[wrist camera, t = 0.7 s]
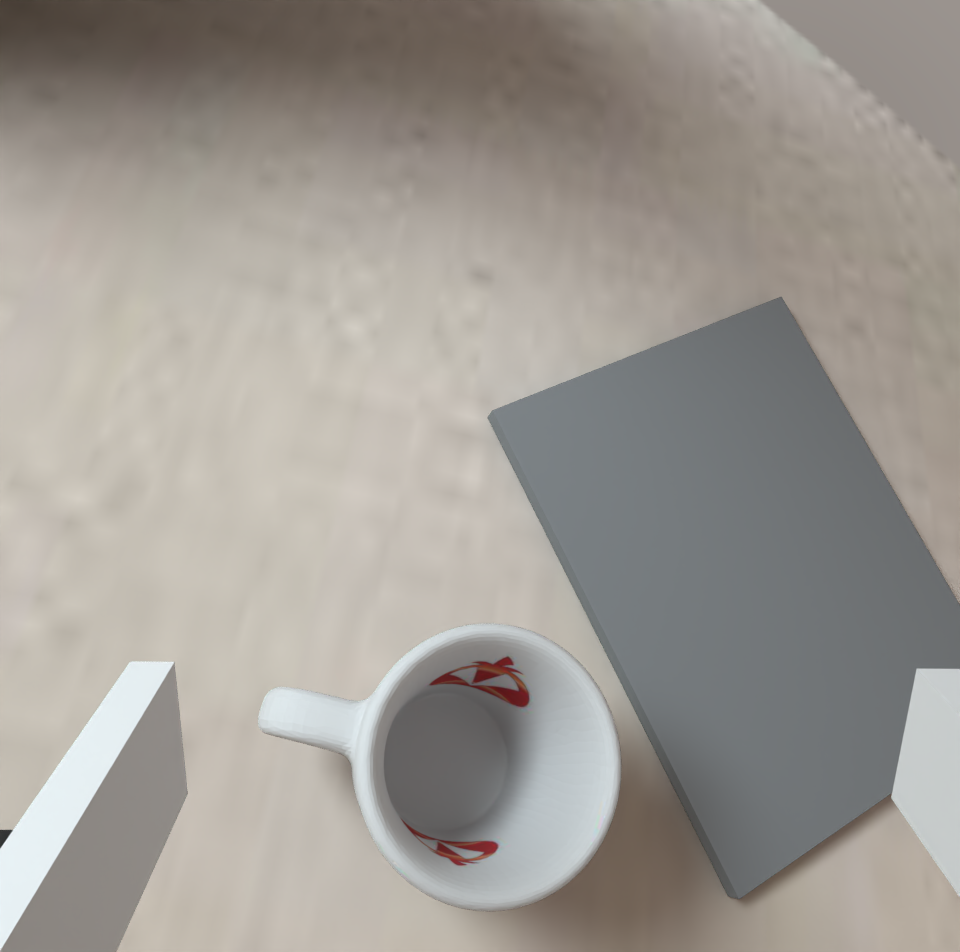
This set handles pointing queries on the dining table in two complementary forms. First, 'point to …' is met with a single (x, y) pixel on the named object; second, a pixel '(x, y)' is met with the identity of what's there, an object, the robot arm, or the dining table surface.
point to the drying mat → (740, 577)
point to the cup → (473, 763)
